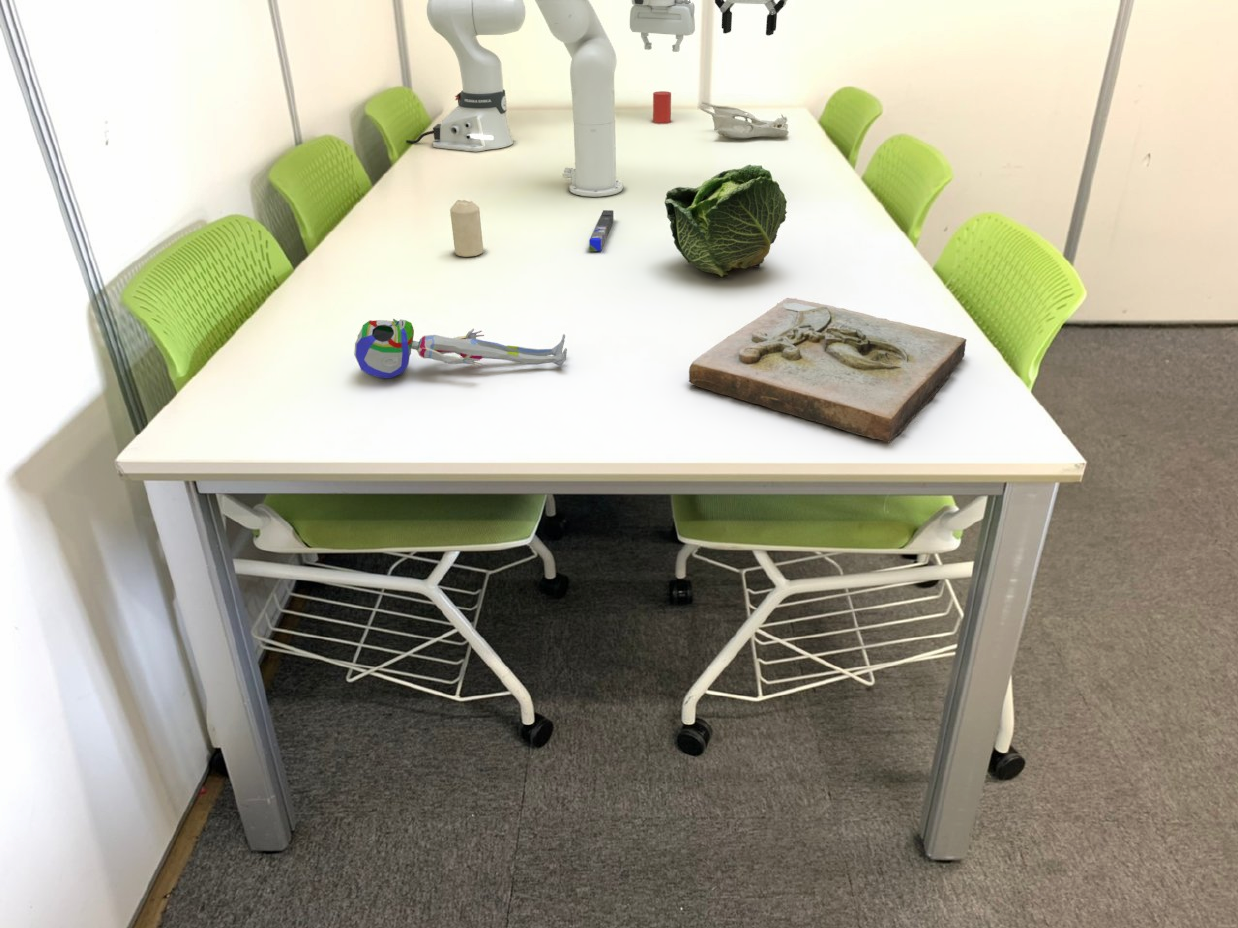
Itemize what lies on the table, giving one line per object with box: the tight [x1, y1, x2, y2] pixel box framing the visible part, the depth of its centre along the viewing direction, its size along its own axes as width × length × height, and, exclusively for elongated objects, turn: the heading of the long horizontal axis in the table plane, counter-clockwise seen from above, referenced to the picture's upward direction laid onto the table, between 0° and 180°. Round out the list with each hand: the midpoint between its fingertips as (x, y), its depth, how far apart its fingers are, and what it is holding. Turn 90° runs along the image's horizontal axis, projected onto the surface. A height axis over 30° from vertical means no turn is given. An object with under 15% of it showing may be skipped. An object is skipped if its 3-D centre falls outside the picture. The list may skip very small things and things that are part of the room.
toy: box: [353, 318, 568, 379], centre depth 130 cm, size 10×8×30 cm
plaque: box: [688, 297, 967, 444], centre depth 127 cm, size 30×7×30 cm
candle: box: [449, 199, 484, 258], centre depth 172 cm, size 6×6×10 cm
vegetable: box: [664, 164, 788, 278], centre depth 161 cm, size 20×19×20 cm
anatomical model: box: [700, 101, 789, 140], centre depth 253 cm, size 15×9×25 cm
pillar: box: [588, 209, 615, 252], centre depth 182 cm, size 2×2×20 cm
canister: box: [652, 90, 672, 124], centre depth 273 cm, size 5×5×8 cm
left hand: (661, 50), depth 265 cm, fingers open, 8 cm apart
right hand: (748, 33), depth 192 cm, fingers open, 9 cm apart
